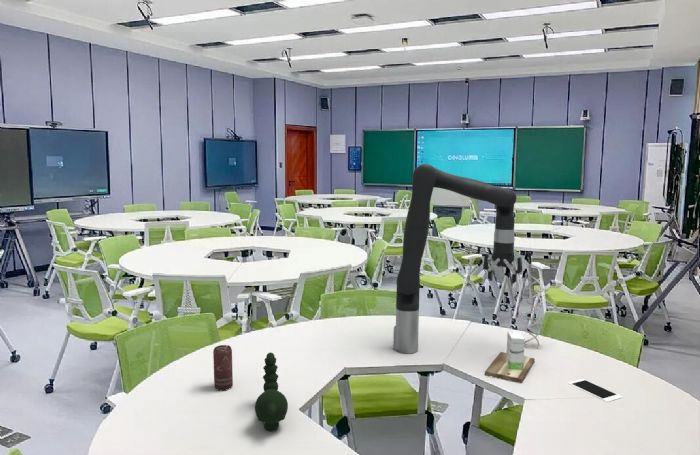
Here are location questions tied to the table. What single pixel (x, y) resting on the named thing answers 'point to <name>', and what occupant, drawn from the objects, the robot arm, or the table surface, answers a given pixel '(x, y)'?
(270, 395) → the dark green knobbed piece
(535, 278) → the dna model
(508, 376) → the floorboard
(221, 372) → the can
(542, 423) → the table surface
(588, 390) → the cell phone
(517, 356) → the ink box
